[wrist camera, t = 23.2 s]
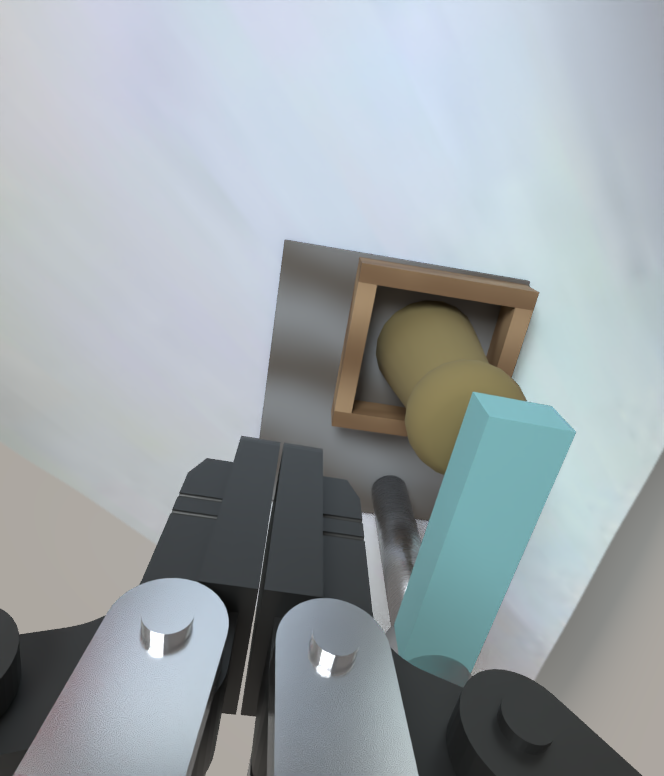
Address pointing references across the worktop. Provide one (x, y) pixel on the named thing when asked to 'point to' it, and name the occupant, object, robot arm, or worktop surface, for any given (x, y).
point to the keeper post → (395, 537)
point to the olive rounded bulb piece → (437, 374)
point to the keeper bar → (478, 531)
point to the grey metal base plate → (369, 358)
